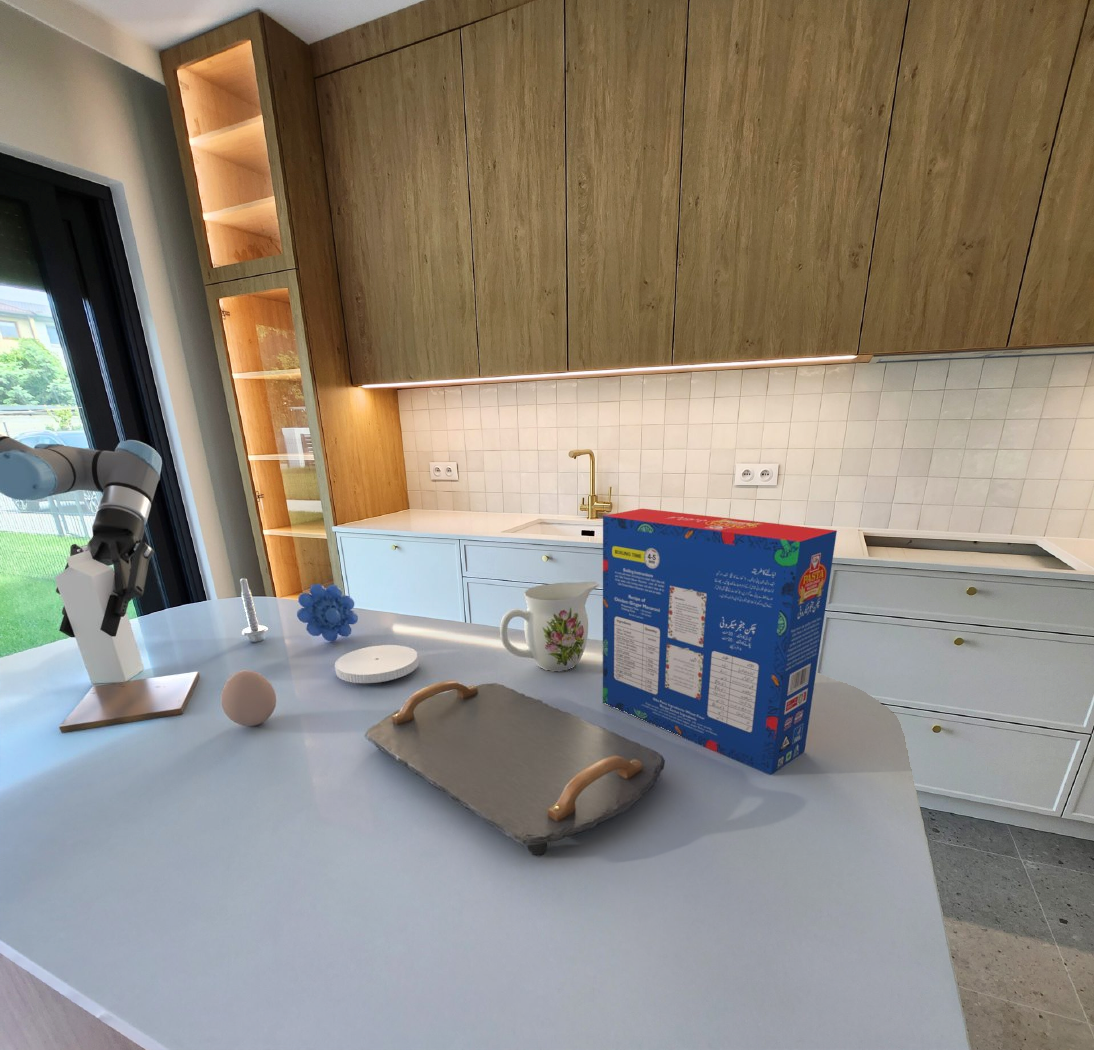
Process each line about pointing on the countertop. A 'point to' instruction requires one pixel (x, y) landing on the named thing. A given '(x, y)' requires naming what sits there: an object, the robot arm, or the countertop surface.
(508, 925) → the countertop surface
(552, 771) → the serving tray
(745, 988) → the countertop surface
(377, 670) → the plastic lid
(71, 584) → the milk
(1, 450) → the robot arm
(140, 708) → the board
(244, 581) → the screw
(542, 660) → the pitcher
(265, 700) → the egg
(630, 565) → the pasta box
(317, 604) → the blue flower
